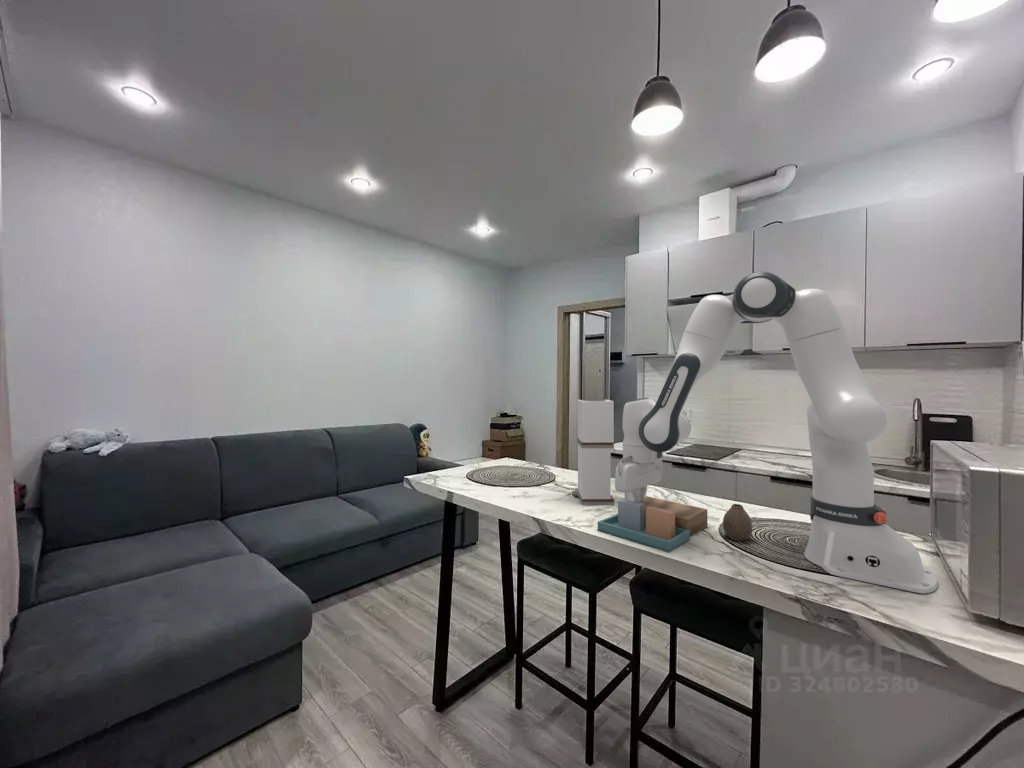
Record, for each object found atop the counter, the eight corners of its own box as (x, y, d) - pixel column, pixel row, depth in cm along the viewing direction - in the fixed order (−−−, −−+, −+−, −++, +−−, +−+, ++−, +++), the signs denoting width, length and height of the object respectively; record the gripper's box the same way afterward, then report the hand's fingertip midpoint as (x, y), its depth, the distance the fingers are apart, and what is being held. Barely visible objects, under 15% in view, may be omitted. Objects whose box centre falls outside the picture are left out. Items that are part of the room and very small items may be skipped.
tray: (690, 540, 111) (690, 530, 111) (669, 552, 103) (669, 542, 103) (620, 520, 126) (620, 512, 126) (597, 530, 118) (597, 521, 118)
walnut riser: (707, 526, 121) (707, 509, 121) (687, 538, 112) (687, 519, 112) (646, 511, 134) (646, 496, 134) (624, 521, 126) (624, 504, 126)
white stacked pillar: (614, 505, 142) (613, 401, 141) (582, 505, 142) (581, 401, 142) (607, 495, 153) (606, 399, 153) (577, 495, 154) (577, 399, 153)
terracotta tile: (675, 511, 111) (670, 513, 109) (675, 538, 111) (670, 540, 109) (650, 505, 116) (645, 507, 114) (650, 531, 116) (645, 533, 114)
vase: (723, 531, 117) (723, 500, 117) (752, 536, 113) (752, 503, 113) (721, 539, 111) (721, 506, 111) (752, 545, 107) (751, 510, 107)
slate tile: (644, 504, 118) (639, 505, 116) (644, 529, 118) (639, 531, 116) (622, 498, 123) (617, 500, 121) (622, 522, 123) (617, 524, 121)
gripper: (628, 460, 112) (629, 512, 112) (666, 451, 126) (666, 497, 126) (608, 457, 117) (609, 507, 117) (646, 449, 131) (647, 493, 131)
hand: (639, 502), depth 121 cm, fingers closed
